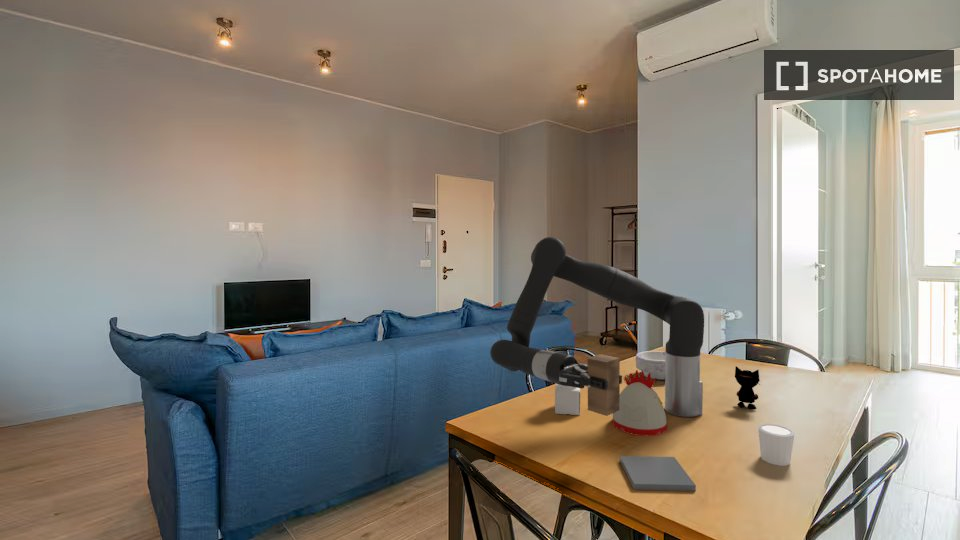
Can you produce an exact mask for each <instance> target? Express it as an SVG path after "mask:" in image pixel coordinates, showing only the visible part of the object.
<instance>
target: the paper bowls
mask: <svg viewBox="0 0 960 540" xmlns="http://www.w3.org/2000/svg"><path fill="white" fill-rule="evenodd" d="M665 352H666V351H663V350H662V351H661V350H660V351H659V350H648V351H647V350H646V351H645V350H644V351H640V352H638V353H636V355H635V366H636V367H635V368H636V370H637V369H638V371H639V370H640V373H641V372H642V371H643V373H644V378H647V377H648V374H649V373H650V374H651V380H654V379H655V378H656V380H657V381H658V380H661V381H662V380H663V381H664V380H665Z"/></svg>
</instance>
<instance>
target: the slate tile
mask: <svg viewBox="0 0 960 540" xmlns="http://www.w3.org/2000/svg"><path fill="white" fill-rule="evenodd" d="M619 462H620V465H621V466H622V468H623V470H624V472H625V474H626V476H627V478H628V480H629V482H630V484H631V486H632V488H633V490H634V491H635V490H637V491H638V490H639V491H673V492H674V491H681V492H685V491H686V492H696V491H697V490H696V489H697V487H696V486H697V485H696V484H695V482H694V480H692V478H691V477H690V475H688V474H689V473H687V471H686V470H685V469H684V467H683V466H682V465H681V464H680V462H679V461H678V460H677V459H676V457H675V456H655V455H654V456H648V455H645V456H644V455H641V456H640V455H620V456H619Z"/></svg>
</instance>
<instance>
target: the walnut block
mask: <svg viewBox="0 0 960 540" xmlns="http://www.w3.org/2000/svg"><path fill="white" fill-rule="evenodd" d="M620 361H621V359H620V357H616V356H611V355H605V354H602V353H601V354H600V353H599V354H597V355H593V356H589V357H587V365H588V375H591V376H592V377H593V376H594V377H598V378H602V379H606V380H607V381H608V389H606V390H602V389H599V388H595V387H587V410H588V411H590V412H593V413H596V414H599V415H602V416H606V417H608V416H610V415H613V413H615V412H617V411H619V397H620V393H621V392H620V391H621V390H620V388H621V387H620V385H621V384H619V375H620V372H621V371H620V363H621V362H620Z"/></svg>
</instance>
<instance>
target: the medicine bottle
mask: <svg viewBox="0 0 960 540" xmlns="http://www.w3.org/2000/svg"><path fill="white" fill-rule="evenodd" d="M554 414H556V415H566V414H570V416H580V415H581V388H576V387H571V386H563V385H559V384H556V383H555V389H554Z"/></svg>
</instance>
